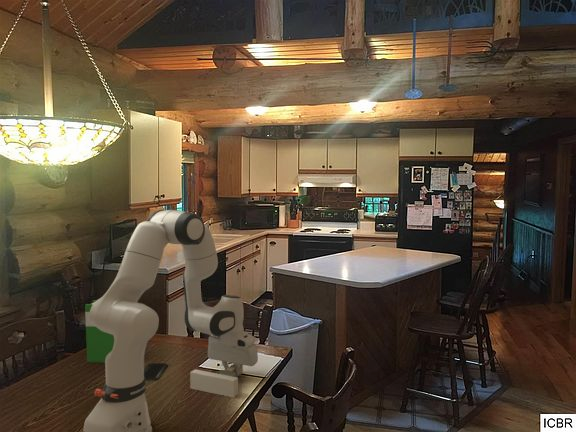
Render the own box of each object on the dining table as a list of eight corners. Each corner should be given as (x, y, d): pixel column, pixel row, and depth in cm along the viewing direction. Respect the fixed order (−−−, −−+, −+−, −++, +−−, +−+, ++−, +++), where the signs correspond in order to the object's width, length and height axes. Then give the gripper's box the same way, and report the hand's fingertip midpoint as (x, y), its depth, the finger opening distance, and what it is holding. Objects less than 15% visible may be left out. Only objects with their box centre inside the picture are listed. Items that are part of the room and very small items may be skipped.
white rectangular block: (233, 397, 168) (233, 380, 167) (190, 388, 175) (190, 372, 174) (246, 387, 176) (246, 371, 175) (204, 379, 183) (204, 363, 183)
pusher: (235, 382, 179) (235, 372, 179) (219, 379, 182) (219, 369, 182) (247, 373, 188) (247, 363, 187) (232, 370, 191) (232, 360, 190)
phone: (168, 363, 197) (157, 378, 182) (168, 366, 197) (157, 381, 182) (149, 363, 197) (136, 378, 182) (149, 365, 197) (136, 381, 182)
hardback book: (87, 361, 201) (85, 304, 199) (95, 355, 208) (93, 300, 206) (128, 363, 199) (126, 305, 197) (135, 356, 206) (134, 301, 204)
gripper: (204, 336, 184) (204, 371, 185) (251, 343, 176) (251, 380, 177) (213, 331, 190) (213, 365, 191) (259, 338, 182) (259, 374, 183)
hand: (232, 373), depth 184 cm, fingers closed on pusher, 3 cm apart
